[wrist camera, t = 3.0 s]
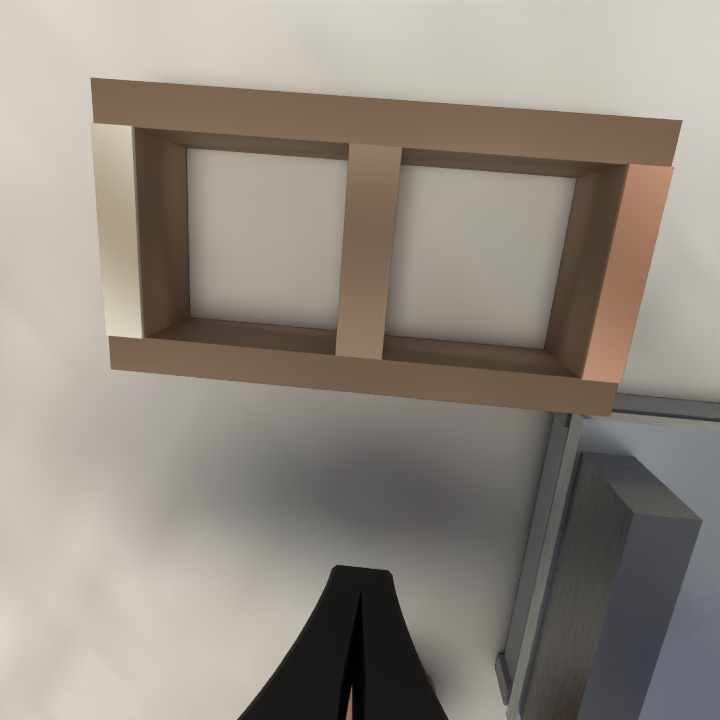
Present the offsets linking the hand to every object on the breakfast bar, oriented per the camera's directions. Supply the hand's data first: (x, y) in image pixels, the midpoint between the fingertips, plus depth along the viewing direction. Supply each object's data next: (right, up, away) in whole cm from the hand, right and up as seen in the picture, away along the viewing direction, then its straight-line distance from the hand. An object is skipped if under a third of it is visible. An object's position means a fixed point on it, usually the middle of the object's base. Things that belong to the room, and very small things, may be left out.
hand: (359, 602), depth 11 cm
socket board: (0, +8, +1) cm, 8 cm away
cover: (+9, 0, +1) cm, 9 cm away
